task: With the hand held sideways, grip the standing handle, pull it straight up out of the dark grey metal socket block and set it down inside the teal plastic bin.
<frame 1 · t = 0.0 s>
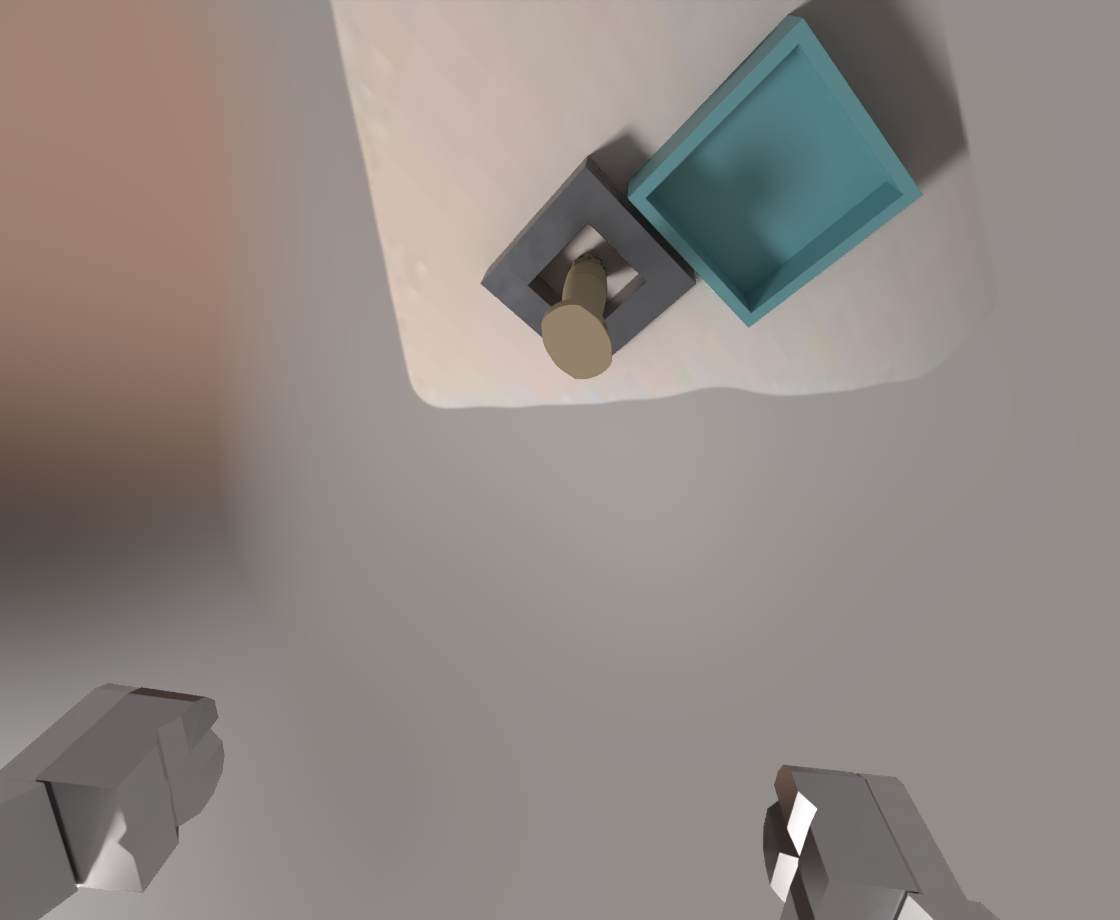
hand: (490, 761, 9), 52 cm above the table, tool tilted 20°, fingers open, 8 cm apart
handle: (588, 268, 57), resting in socket block
bin: (761, 179, 51), on the table
socket block: (588, 269, 57), on the table
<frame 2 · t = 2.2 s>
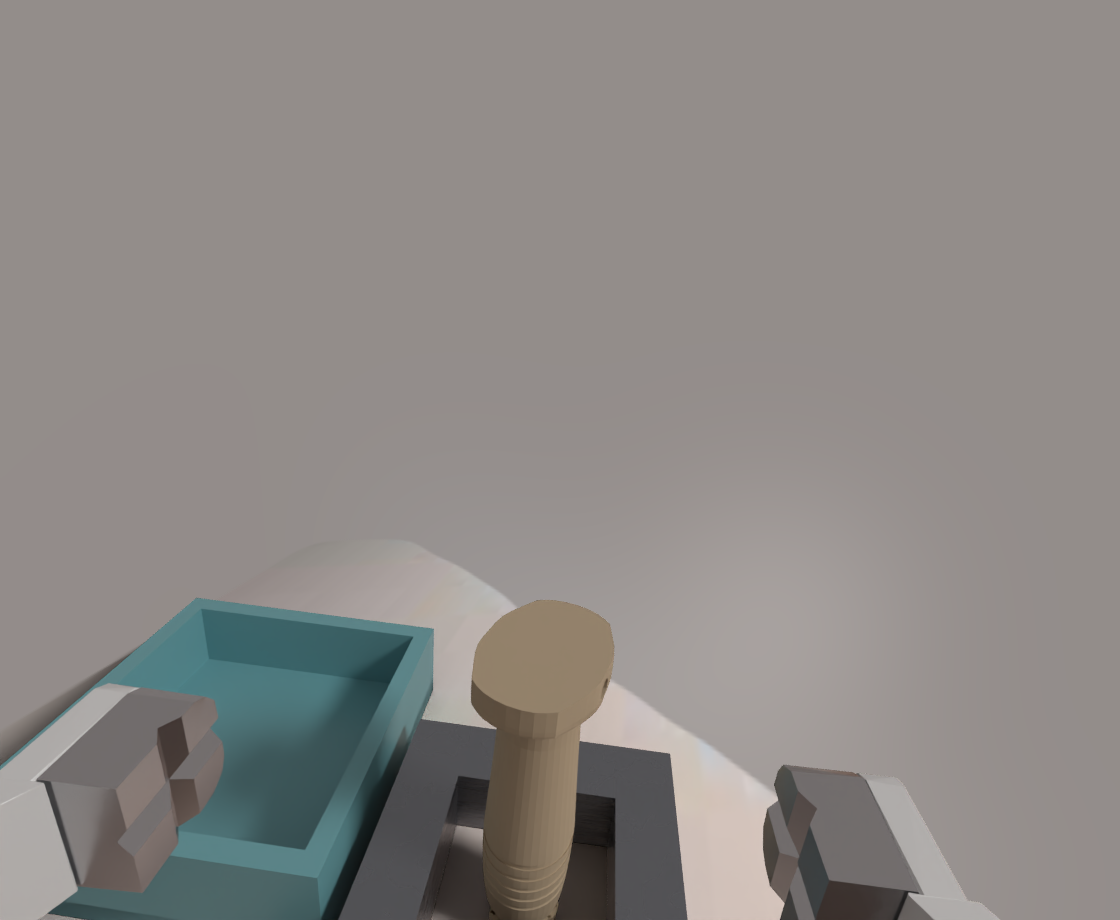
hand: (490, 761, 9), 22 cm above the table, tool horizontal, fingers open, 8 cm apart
handle: (520, 914, 28), resting in socket block
bin: (251, 772, 33), on the table
socket block: (520, 911, 28), on the table
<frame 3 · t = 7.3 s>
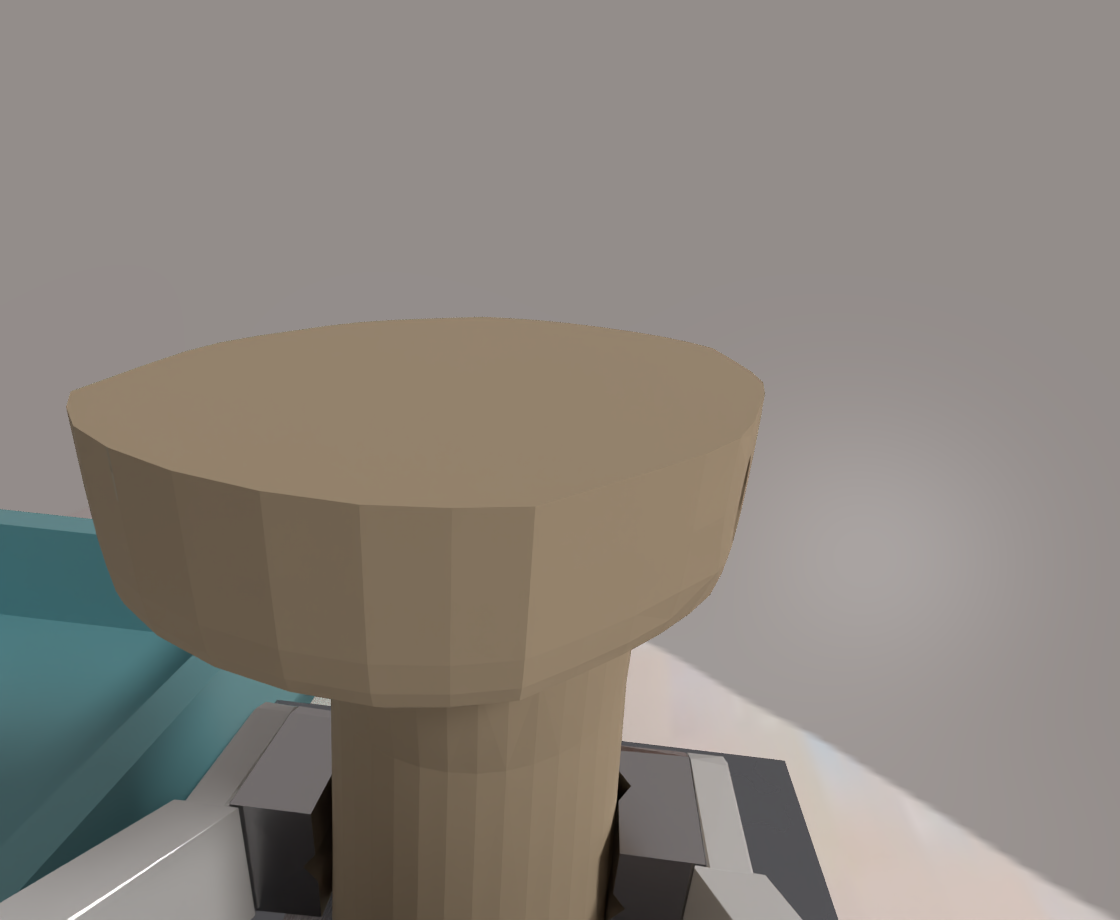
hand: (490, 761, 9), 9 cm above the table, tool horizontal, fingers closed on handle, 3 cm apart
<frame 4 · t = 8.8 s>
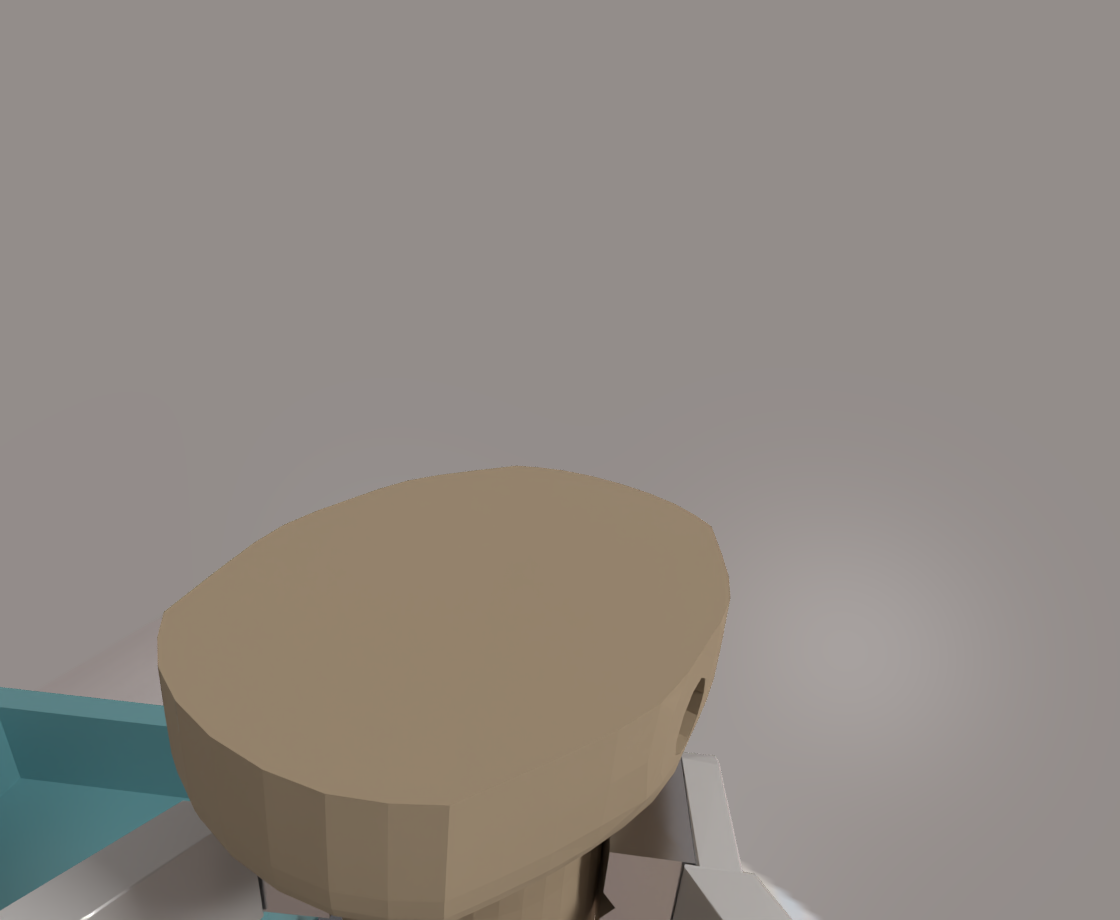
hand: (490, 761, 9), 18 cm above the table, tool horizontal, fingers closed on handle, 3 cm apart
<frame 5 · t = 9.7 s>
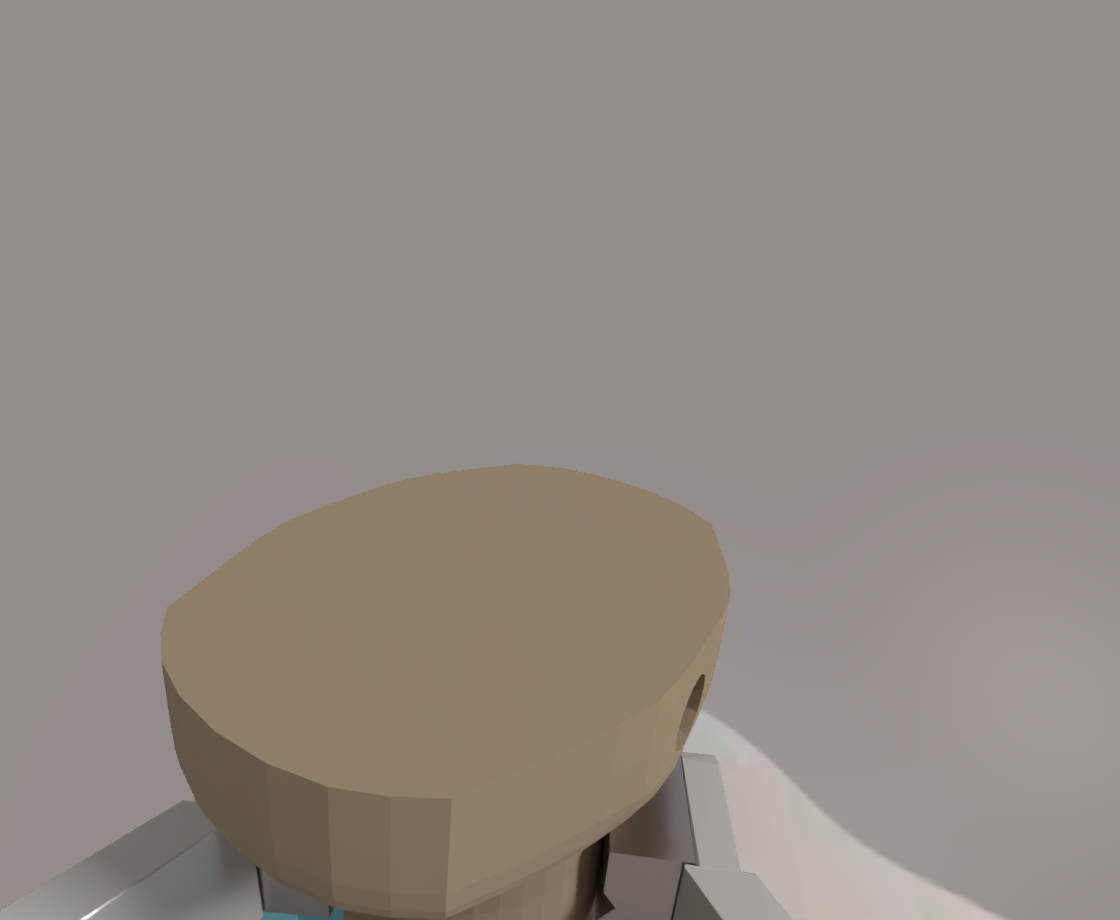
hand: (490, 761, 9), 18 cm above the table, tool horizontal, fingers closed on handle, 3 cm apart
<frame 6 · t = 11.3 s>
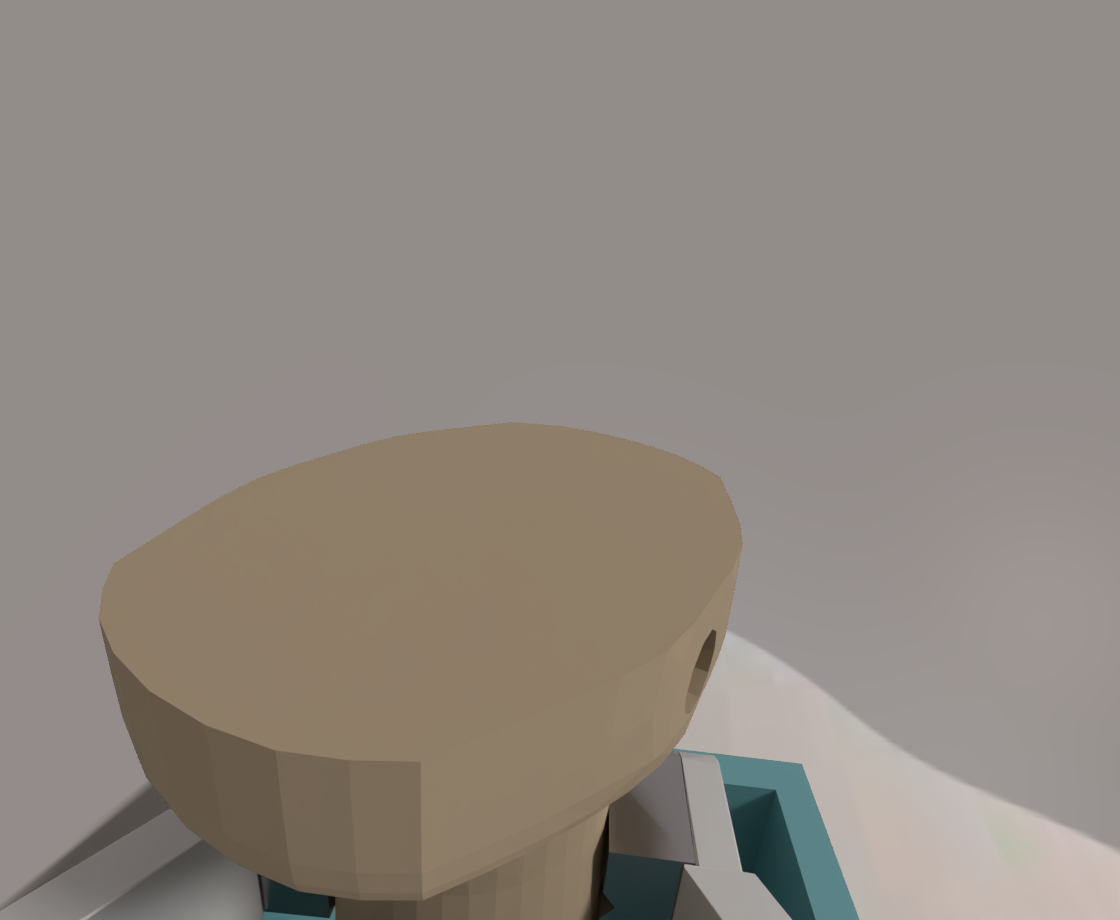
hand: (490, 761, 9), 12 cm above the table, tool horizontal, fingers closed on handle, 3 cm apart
when the fingers open (12 cm above the table, at t = 11.7 s): handle stays where it is, resting on bin.
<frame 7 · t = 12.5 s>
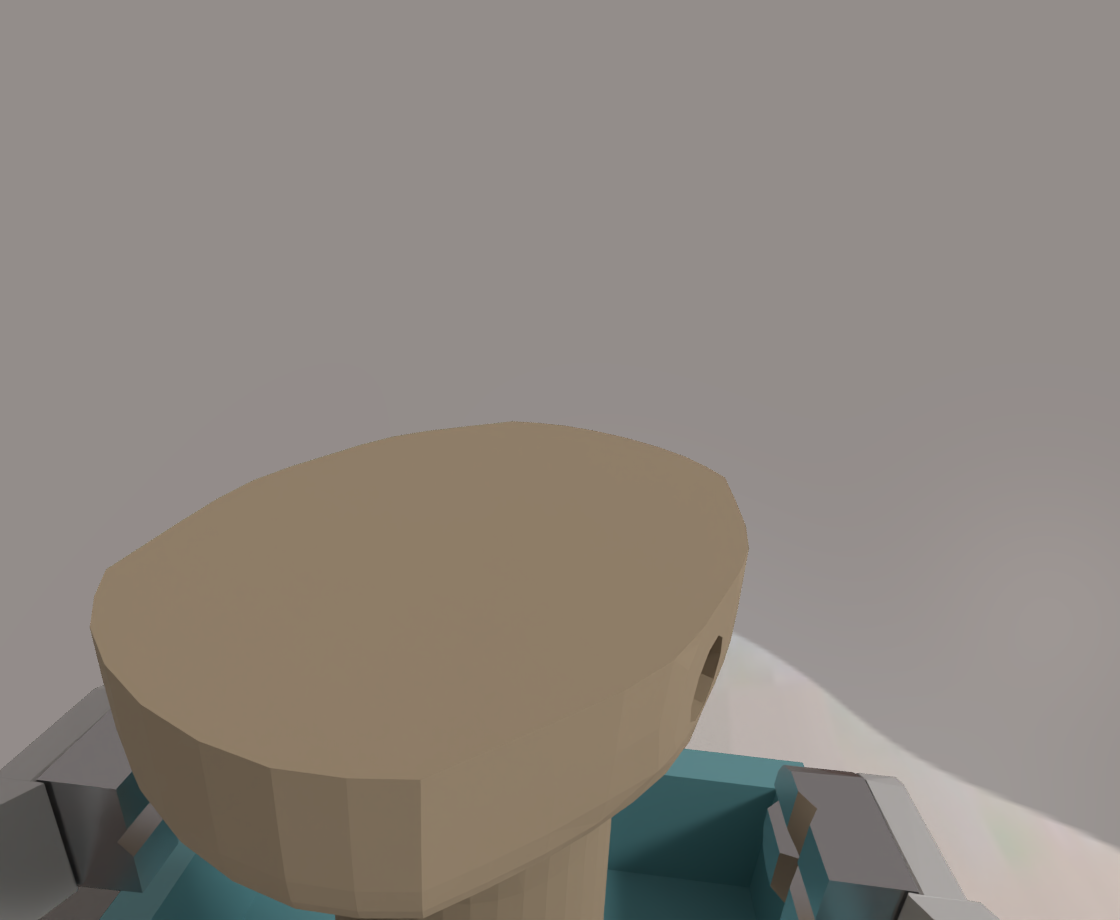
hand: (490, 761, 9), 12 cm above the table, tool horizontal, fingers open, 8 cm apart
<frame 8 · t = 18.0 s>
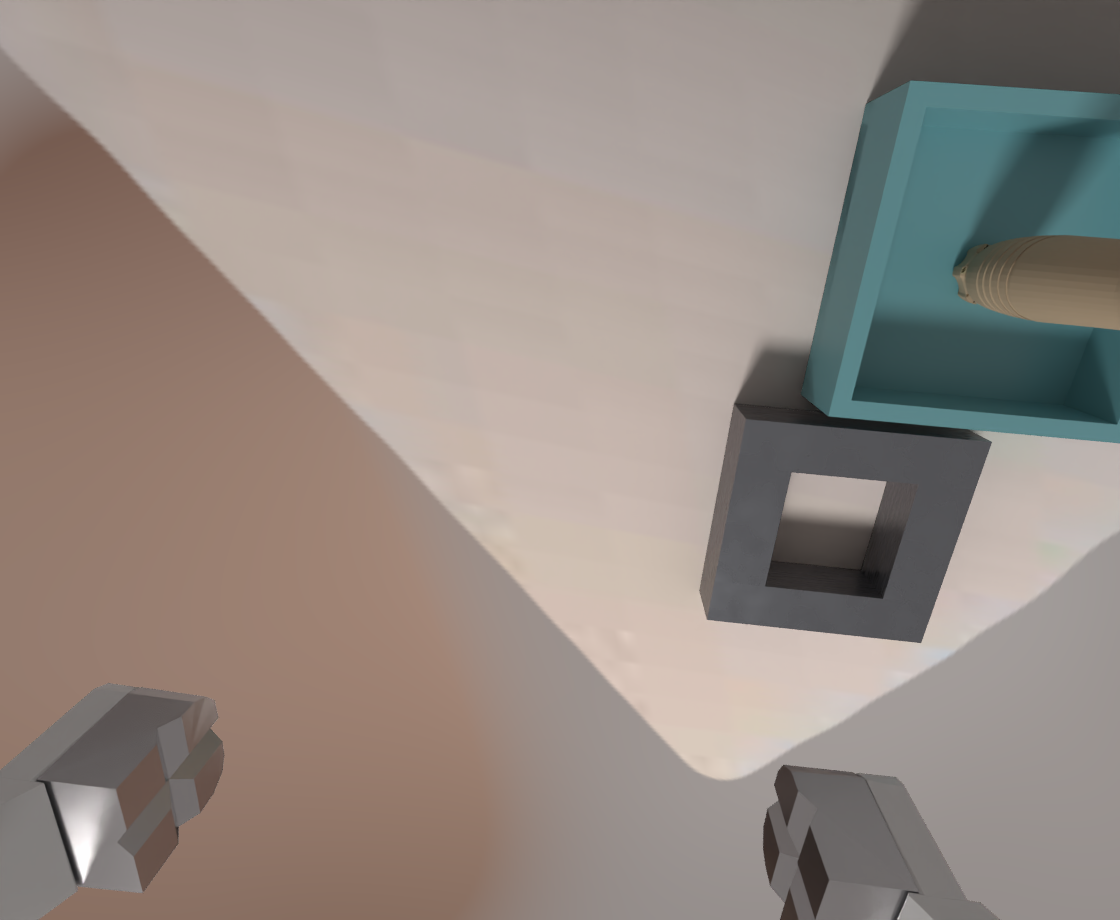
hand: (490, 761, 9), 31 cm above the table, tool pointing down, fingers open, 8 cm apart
handle: (977, 272, 33), point 1 cm above the table, touching bin
bin: (971, 272, 34), on the table
socket block: (819, 513, 40), on the table
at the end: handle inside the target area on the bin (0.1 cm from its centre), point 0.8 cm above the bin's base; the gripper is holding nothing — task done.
